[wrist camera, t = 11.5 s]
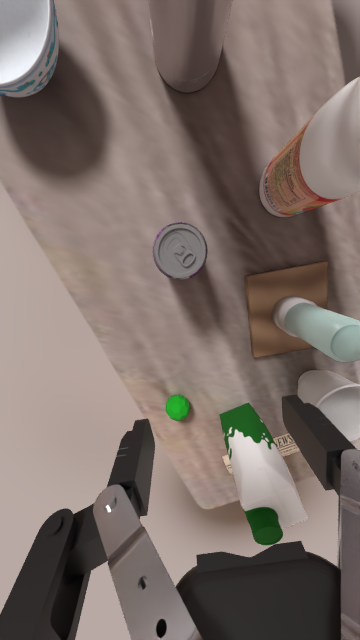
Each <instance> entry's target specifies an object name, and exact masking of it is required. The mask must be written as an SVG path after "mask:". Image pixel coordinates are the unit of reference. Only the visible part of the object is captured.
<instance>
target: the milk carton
mask: <svg viewBox="0 0 360 640" xmlns="http://www.w3.org/2000/svg"><path fill="white" fill-rule="evenodd" d="M220 419H221V424H222V430H223V435H224V440H225V444H226V448H227V452H228V455H229V459H230V463H231V467H232V471H233V475H234V479H235V482H236V486H237V490H238V494H239V498H240V502H241V506H242V507H243V510H244V512H245V514H246V517H247V520H248V522H249V524H250V526H251V529H252V533H253V537H254V539H255V541H256V542H257V543H259V544H261V545H272V544H275V543H277V542H278V541H280V539H281V538H282V536H283V532H282V528H288V527H291V526H293V525H292V524H295V523H298V522H301V521H304V520H307V519H308V517H307V514H306V512H305V509H304V507H303V504H302V502H301V499H300V496H299V494H298V491H297V488H296V486H295V483H294V481H293V478H292V476H291V474H290V472H289V469H288V467H287V465H286V463H285V461H284V459H283V457H282V455H281V453H280V452H279V450H278V448H277V446H276V444H275V442H274V440H273V438H272V436H271V434H270V433H269V431H268V429H267V428H266V426H265V424H264V423H263V421H262V420H261V419H260V417H259V416H258V414H257V413H256V412H255V410H254V409H253V408H252V406H251V405H250V404H249V403H247V404H244V405H242V406H239V407H237V408H235V409H232V410H230V411H227V412H225V413H223V414H220Z"/></svg>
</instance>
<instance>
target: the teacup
mask: <svg viewBox="0 0 360 640" xmlns="http://www.w3.org/2000/svg"><path fill="white" fill-rule="evenodd" d="M297 393H298V397H299V398H300V399H301V400H302V401H303V403H310V404H312V405H314V406H315V407H317V408H319V409H320V410H321V412H322V413H323V414H324V415H325V416H326V418H328V419H329V420H330V421H331V422H332V424H334V425H335V426H336V428H337V429H338V430H339V431H340V432H341V433H342V434H343V435H344V436H345V437H346V438H347V439H348V440H349V441H353V440H356V439H358V438H360V384H355V383H353V382H351V381H350V380H348V379H346V378H344V377H342V376H340V375H338V374H336V373H334V372H331V371H326V370H319V371H317V370H310V371H307V372H305V373H304V374H302V375H301V376H300V378H299V380H298V392H297Z"/></svg>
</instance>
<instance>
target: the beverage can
mask: <svg viewBox="0 0 360 640" xmlns="http://www.w3.org/2000/svg"><path fill="white" fill-rule="evenodd" d="M153 257H154V261H155V264H156V266H157V267H158V269H159V270H160V271H161V272H162V273H163V274H164V275H166V276H167V277H169V278H172V279H176V280H185V279H189V278H191V277H193V276H195V275H196V274H197V273H198V272H199V271H200V270H201V269H202V268H203V266H204V264H205V262H206V258H207V244H206V241H205V238H204V236H203V235H202V233H201V232H200V231H199V230H198V229H197V228H196V227H194V226H192V225H190V224H187V223H182V222H178V223H173V224H170V225H168V226H166V227H165V228H163V229H162V230H161V231H160V232H159V234H158V235H157V237H156V239H155V241H154V245H153Z"/></svg>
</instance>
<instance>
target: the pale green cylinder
mask: <svg viewBox="0 0 360 640" xmlns="http://www.w3.org/2000/svg"><path fill="white" fill-rule="evenodd" d="M285 326H286V328H287V329H288V330H289V331H290V332H292V333H293V334H295V335H296V336H298V337H300V338H301V339H303V340H304V341H306V342H307V343H309V344H310V345H312V346H313V347H315V348H316V349H318V350H320V351H321V352H323V353H324V354H326V355H327V356H329V357H330V358H332V359H334V360H335V361H338V362H353V361H357V360H360V321H358V320H355V319H353V318H350V317H347V316H344V315H341V314H338V313H335V312H332V311H329V310H326V309H323V308H321V307H318V306H315V305H312V304H309V303H298V304H296V305H294V306H292V307H291V308H290V309H289V310H288V312H287V313H286V316H285Z"/></svg>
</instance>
